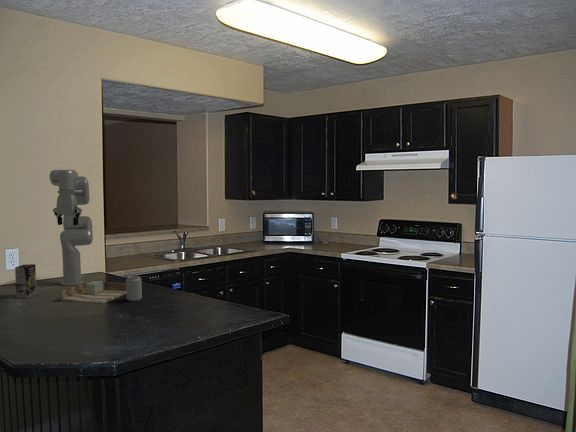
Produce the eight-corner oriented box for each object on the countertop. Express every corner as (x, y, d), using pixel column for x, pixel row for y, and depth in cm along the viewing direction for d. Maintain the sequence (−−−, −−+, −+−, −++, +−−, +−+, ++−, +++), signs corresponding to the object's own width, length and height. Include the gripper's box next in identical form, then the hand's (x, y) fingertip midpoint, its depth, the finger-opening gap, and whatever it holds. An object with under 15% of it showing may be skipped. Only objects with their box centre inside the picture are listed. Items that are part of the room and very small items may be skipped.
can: (144, 298, 260) (143, 274, 259) (138, 301, 252) (137, 277, 252) (130, 297, 261) (129, 274, 260) (123, 301, 253) (123, 277, 252)
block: (86, 293, 266) (85, 283, 265) (96, 289, 274) (96, 280, 274) (95, 293, 264) (94, 284, 264) (105, 290, 273) (104, 280, 273)
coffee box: (28, 298, 262) (26, 267, 261) (15, 298, 262) (14, 267, 261) (37, 293, 271) (35, 263, 270) (25, 293, 271) (23, 264, 270)
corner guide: (89, 290, 278) (89, 281, 278) (129, 292, 273) (129, 283, 272) (60, 301, 255) (60, 291, 254) (103, 303, 249) (102, 293, 249)
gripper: (47, 193, 270) (49, 225, 272) (76, 193, 267) (77, 225, 268) (57, 192, 278) (58, 224, 279) (85, 192, 274) (86, 224, 275)
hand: (68, 224), depth 273 cm, fingers open, 9 cm apart
